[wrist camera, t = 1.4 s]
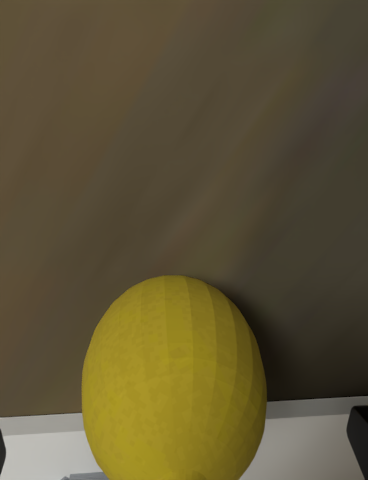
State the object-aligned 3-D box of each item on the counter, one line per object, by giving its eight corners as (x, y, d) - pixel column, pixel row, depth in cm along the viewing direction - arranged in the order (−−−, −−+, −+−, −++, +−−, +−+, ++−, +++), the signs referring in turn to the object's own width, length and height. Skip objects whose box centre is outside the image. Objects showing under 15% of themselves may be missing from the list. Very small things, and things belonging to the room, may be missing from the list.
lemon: (254, 314, 15) (355, 517, 7) (154, 373, 15) (150, 614, 8) (187, 217, 13) (228, 353, 5) (77, 290, 14) (-23, 499, 6)
